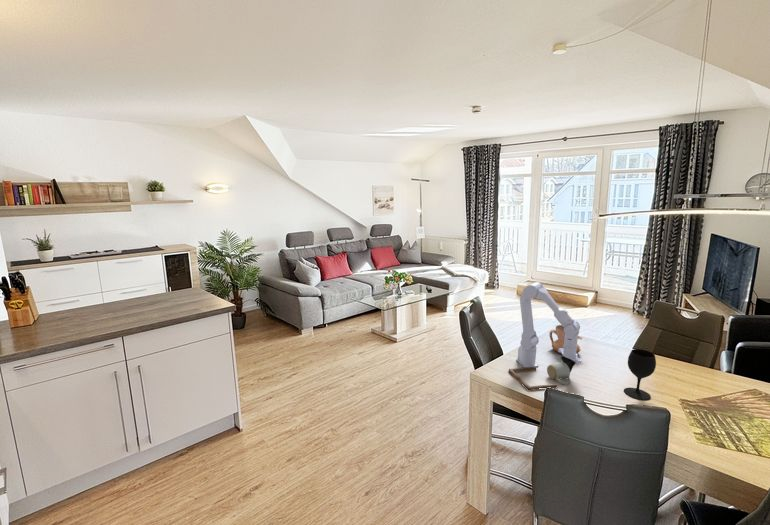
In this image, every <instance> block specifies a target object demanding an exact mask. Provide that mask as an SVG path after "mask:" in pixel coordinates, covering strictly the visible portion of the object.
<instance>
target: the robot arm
mask: <svg viewBox="0 0 770 525" xmlns="http://www.w3.org/2000/svg"><path fill="white" fill-rule="evenodd" d="M534 298H535V299H538V300H542V301H543V302H544V303H545V304H546V305H547V306H548V307H549V308H550V310H552V312H553V316H554V318H555V319H556V321H557V322H558V323H559V325H562V326H563V327H564V332H565V339H564V349H563V348H559V350H558V352H559V353H558V352H557V353H558V354H561V353H562V354H561V355H562V356H561V358H560V360H561V362H565V363H566V364H567V365H568V367H569V369H570V373H571V372H572V370H573V368H574V367H575V365H581V364H582V360H581V359H580V358H579V357H578V356H579V355H578V353H577V354H576V350H577V344H578V340H579V339H578V336H579V334H578V333H577V332H578V331H579V332H580V329H581V325H580V323H579V322H578V320H577V321H576V320H575V319H574V318H572V317H571V316H570V315H569V312H568V311H567V310H566V309H564V308H561V307H559V305H558V303H556V301H555V299H554V298H553V297H552V296H551V294H550V293H549V292H548V289H547V288H546V287H545V286H544V285H543V283H541V282H539V281H534V282H533V283H531V284H528V285H527V286H525V287H524V288H523V289H522V292H521V294H520V296H519V303H520V304H519V305H520V313H521V314H520V315H521V322H522V333H521V337H520V338H521V340H520V345H519V347H518V348H517V358H516V359H515V361H516V362H518V363H519V364H520V365H521V366H522V367H523V368H525V367H536V368H537V367H539V365H538V364H537V362H536V358H537V345H538V343H539V337H538V335H537V332H536V330H535V328H534V317H533V309H532V307H533V306H532V300H533V299H534Z"/></svg>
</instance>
